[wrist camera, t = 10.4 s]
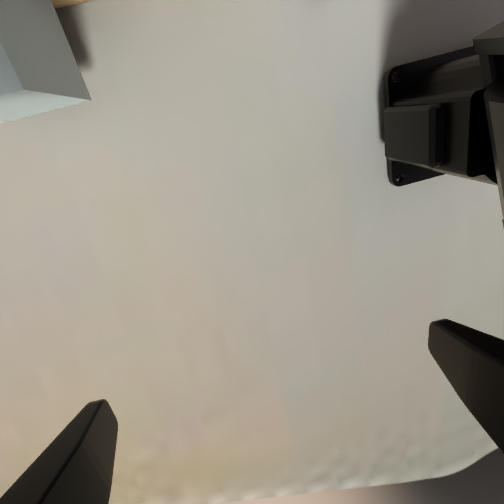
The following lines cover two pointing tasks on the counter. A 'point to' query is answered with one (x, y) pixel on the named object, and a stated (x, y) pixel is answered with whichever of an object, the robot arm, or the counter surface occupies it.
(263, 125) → the counter surface
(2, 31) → the pale blue block
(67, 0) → the notched beam
